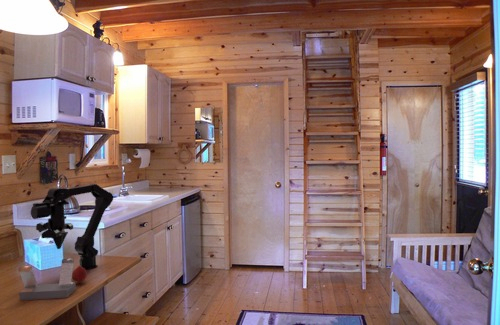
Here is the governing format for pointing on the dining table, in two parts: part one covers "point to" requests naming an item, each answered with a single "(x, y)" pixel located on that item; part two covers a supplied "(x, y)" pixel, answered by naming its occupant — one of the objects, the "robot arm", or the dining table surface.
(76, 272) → the onion
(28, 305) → the dining table surface
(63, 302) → the dining table surface
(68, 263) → the grey lever
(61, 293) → the switch box
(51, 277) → the dining table surface
